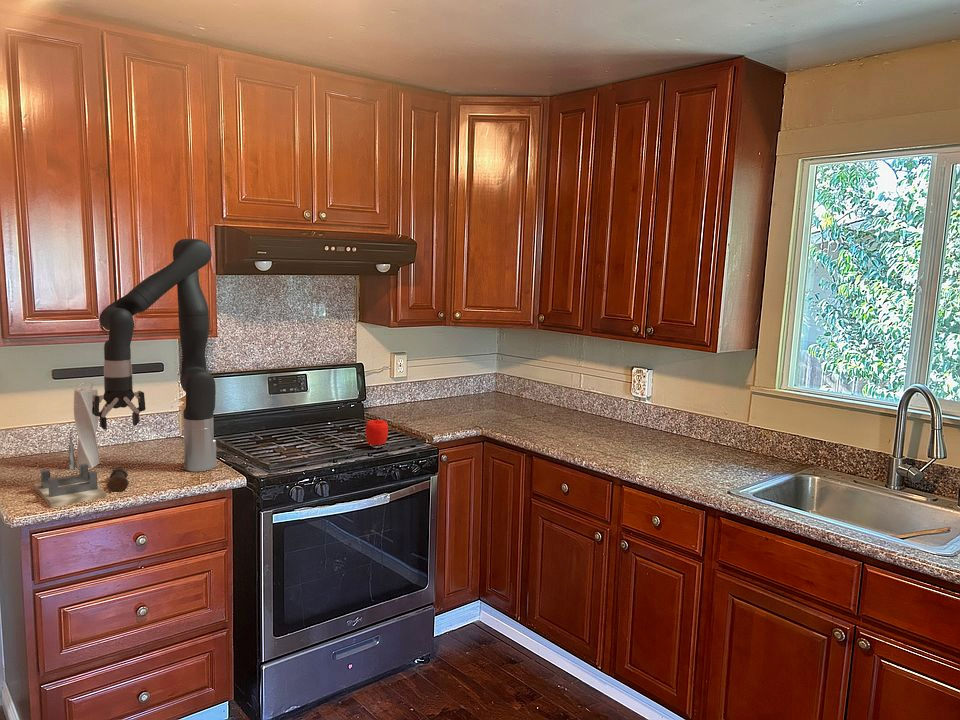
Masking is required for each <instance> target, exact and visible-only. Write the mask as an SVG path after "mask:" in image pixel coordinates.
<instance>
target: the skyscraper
mask: <svg viewBox="0 0 960 720" xmlns="http://www.w3.org/2000/svg"><path fill="white" fill-rule="evenodd" d="M86 384H91V386H90V387H87V386H86V387H80V386H82V385H86ZM94 384H95V382H94V381H84V382H82V383H79V384H78V385H76V387H75V388H74V390H73V419H74V424H75V429H76V433H77V437H78V439H77V449H76V450H77V452H76V458H75V451H74V449H75V444H73V436H72V431H69V444H68V458H67V459H68V463H69V464H68V469H75V467H76V468H77V469H78V470H77V471H79V465H81V464H87V465H88V468H93V467H94V466H96V465H98V464H100V463H101V458H100V457H101V455H100V451H99V444H98V439H97V431H98V426H99V421H100V417H99V416H95V415H93V414H92V399H93V395H97V396H99V391H98V389H96V388H93V387H94ZM79 387H80V389H78V388H79ZM75 460H76V464H75ZM75 465H76V466H75ZM100 465H101V464H100ZM98 466H99V465H98ZM93 469H94V468H93Z"/></svg>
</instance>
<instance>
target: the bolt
mask: <svg viewBox="0 0 960 720" xmlns="http://www.w3.org/2000/svg"><path fill="white" fill-rule="evenodd" d="M128 477H129V473H128V472H127V471H126V469H125V468H124V467H115V468H114V469H113V470H112V472H111V474H110V475H109V478H110V480H108V483H107V484H106V486H107V488H108V489H109V491H110V492H111V493H112V492H118V493H124V492H126V490H127V488H128V487H129V484H130V482H129V480H128V479H127V478H128ZM123 491H124V492H123Z"/></svg>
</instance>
